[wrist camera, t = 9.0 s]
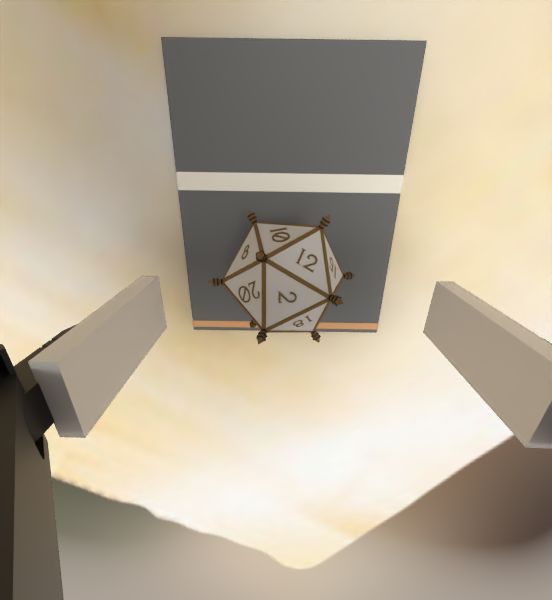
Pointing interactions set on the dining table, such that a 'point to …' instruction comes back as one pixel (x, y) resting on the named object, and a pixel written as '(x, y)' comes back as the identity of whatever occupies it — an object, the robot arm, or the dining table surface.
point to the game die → (284, 276)
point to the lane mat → (290, 157)
